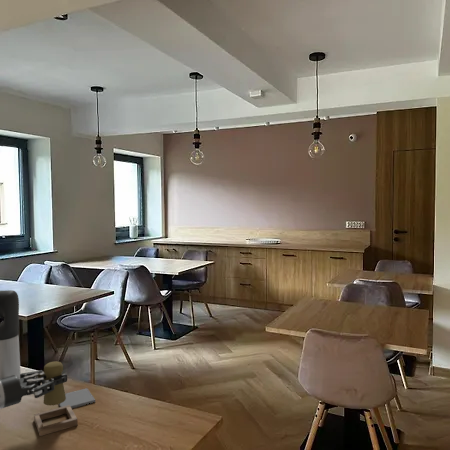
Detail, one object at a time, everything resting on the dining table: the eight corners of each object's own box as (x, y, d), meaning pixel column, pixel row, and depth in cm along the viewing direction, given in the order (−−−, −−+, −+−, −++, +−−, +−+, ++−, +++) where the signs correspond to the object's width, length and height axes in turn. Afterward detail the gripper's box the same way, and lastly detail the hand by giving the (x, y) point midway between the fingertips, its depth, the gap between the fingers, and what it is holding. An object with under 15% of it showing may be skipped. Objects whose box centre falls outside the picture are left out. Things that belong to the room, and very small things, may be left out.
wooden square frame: (34, 420, 124) (33, 414, 124) (69, 410, 129) (69, 404, 129) (39, 436, 115) (39, 429, 115) (77, 425, 121) (77, 419, 121)
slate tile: (55, 398, 137) (55, 395, 137) (87, 390, 143) (87, 388, 143) (62, 411, 129) (62, 408, 129) (95, 402, 134) (95, 399, 134)
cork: (59, 393, 126) (57, 357, 126) (70, 399, 123) (68, 362, 122) (39, 401, 122) (37, 363, 121) (50, 407, 118) (48, 369, 117)
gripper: (6, 389, 107) (73, 369, 118) (-9, 372, 117) (54, 355, 129) (7, 418, 107) (74, 395, 119) (-8, 398, 118) (55, 379, 129)
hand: (63, 375), depth 124 cm, fingers closed on cork, 4 cm apart
